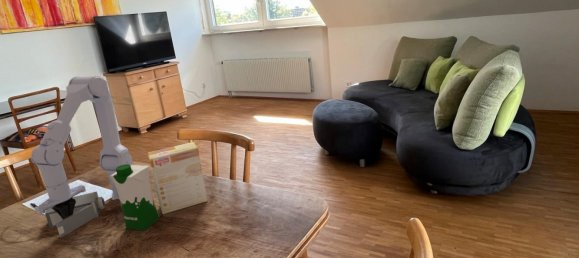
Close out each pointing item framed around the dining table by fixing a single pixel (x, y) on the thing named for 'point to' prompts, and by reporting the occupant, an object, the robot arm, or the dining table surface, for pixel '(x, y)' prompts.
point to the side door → (77, 220)
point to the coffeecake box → (178, 177)
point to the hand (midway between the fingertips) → (69, 222)
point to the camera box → (76, 207)
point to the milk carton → (135, 196)
